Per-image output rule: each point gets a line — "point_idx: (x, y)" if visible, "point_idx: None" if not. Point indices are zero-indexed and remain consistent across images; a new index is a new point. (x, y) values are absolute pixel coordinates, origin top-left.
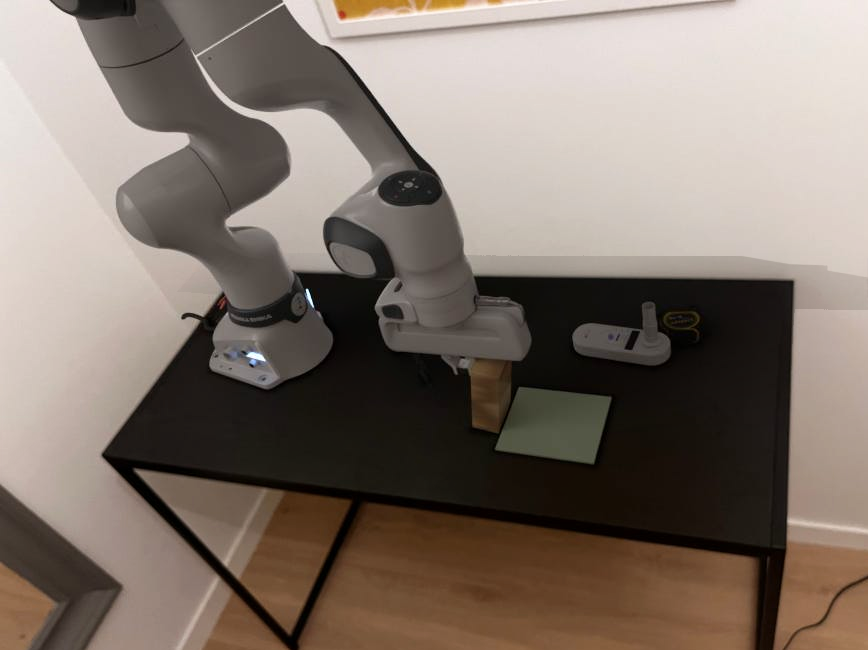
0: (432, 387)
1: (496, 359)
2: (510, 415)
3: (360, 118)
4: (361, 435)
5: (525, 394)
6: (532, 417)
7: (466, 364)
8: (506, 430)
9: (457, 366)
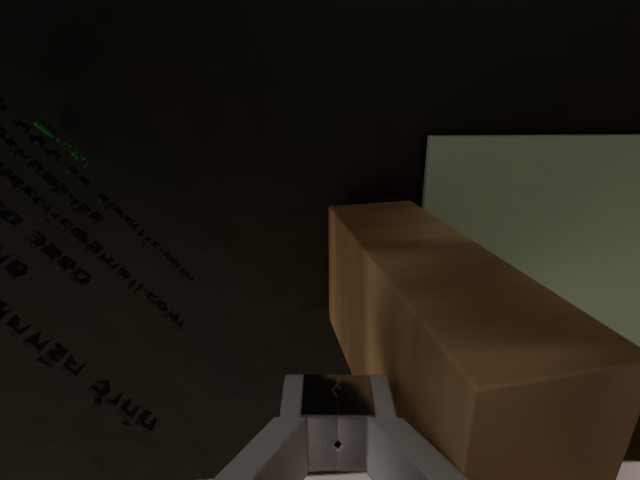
0: (163, 311)
1: (569, 477)
2: None
3: None
4: (28, 371)
5: (458, 167)
6: (494, 252)
7: (356, 449)
8: None
9: (309, 464)
